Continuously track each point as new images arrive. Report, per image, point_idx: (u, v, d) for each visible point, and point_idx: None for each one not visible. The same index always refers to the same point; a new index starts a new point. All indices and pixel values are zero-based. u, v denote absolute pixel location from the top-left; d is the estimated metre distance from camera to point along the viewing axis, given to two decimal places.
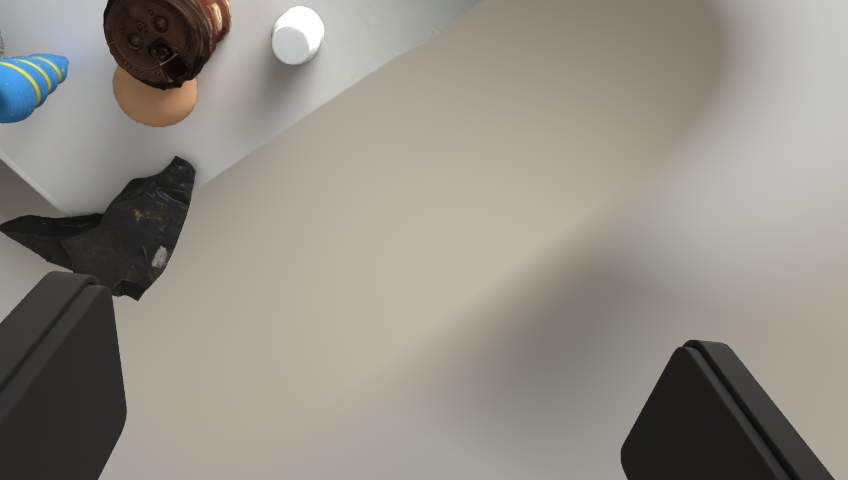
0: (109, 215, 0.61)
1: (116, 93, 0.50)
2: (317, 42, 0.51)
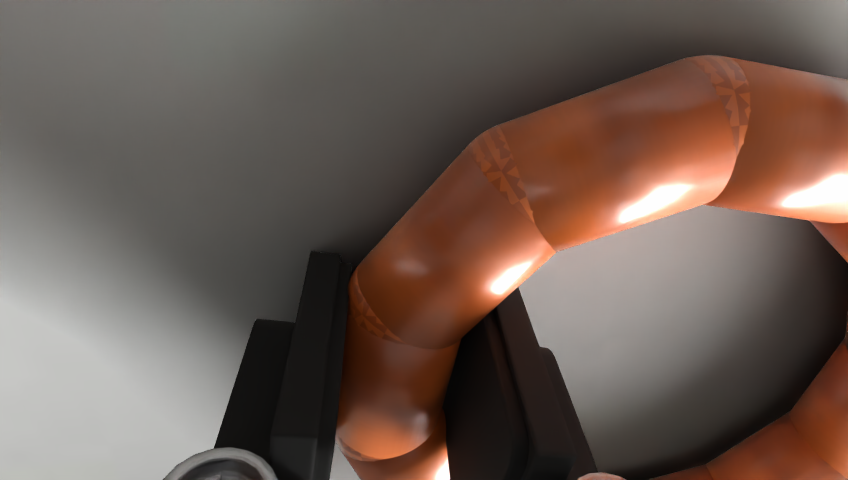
0: None
1: None
2: None
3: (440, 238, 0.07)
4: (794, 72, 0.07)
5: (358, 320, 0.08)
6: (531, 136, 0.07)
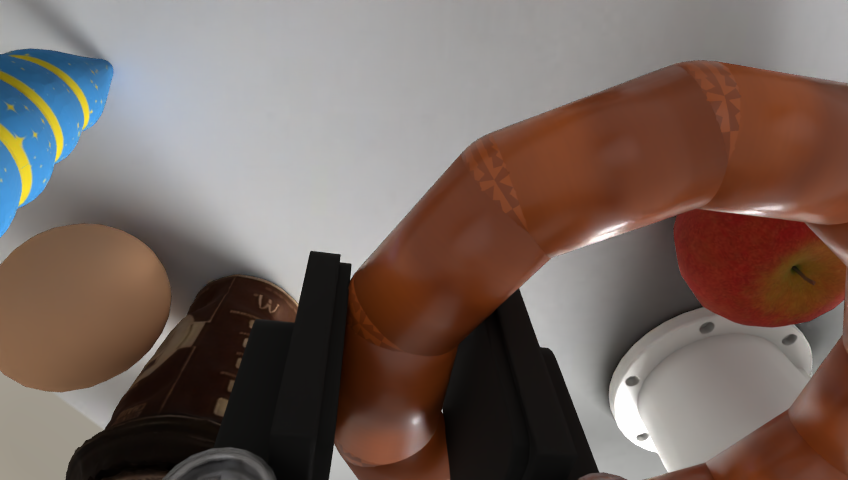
0: None
1: (38, 305, 0.22)
2: None
3: (435, 247, 0.07)
4: (785, 76, 0.07)
5: (355, 328, 0.08)
6: (523, 144, 0.07)
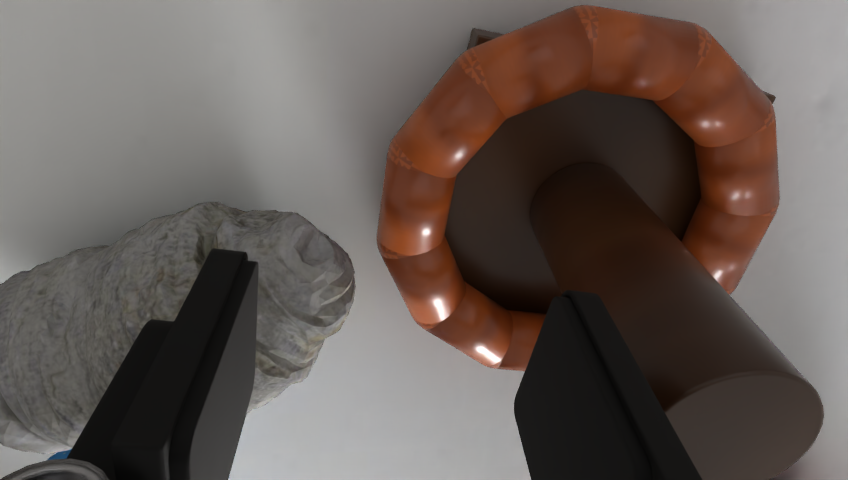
0: None
1: None
2: None
3: (441, 107, 0.14)
4: (627, 12, 0.13)
5: (396, 161, 0.15)
6: (488, 49, 0.13)
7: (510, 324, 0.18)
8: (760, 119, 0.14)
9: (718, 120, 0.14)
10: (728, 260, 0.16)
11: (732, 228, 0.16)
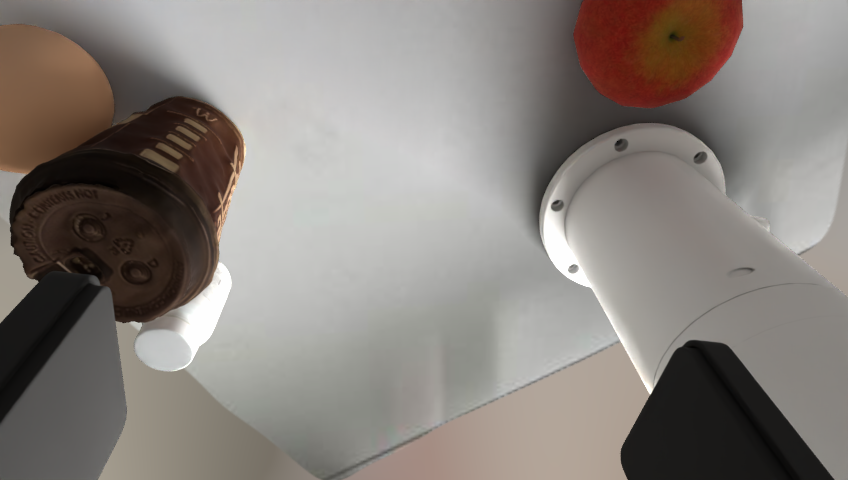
0: None
1: None
2: None
3: None
4: None
5: None
6: None
7: None
8: None
9: None
10: None
11: None
